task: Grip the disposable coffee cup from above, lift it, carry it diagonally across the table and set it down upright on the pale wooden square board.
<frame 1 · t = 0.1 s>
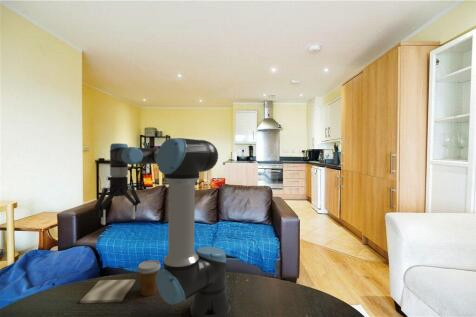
hand: (118, 221, 115), 28 cm above the table, tool pointing down, fingers open, 13 cm apart
wooden board: (109, 291, 105), on the table
disposable coffee cup: (149, 292, 105), on the table
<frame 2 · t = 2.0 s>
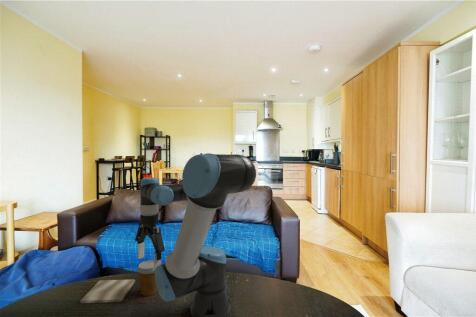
hand: (148, 262, 105), 13 cm above the table, tool pointing down, fingers open, 13 cm apart
nothing on the table moved.
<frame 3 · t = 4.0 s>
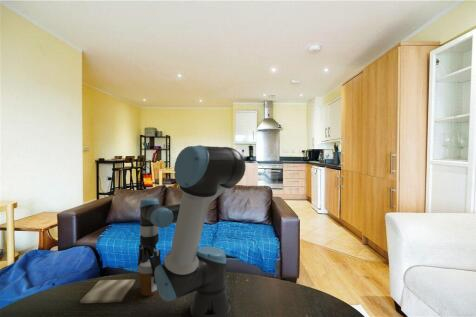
hand: (149, 286, 105), 2 cm above the table, tool pointing down, fingers closed on disposable coffee cup, 8 cm apart
disposable coffee cup: (149, 292, 105), on the table, touching gripper
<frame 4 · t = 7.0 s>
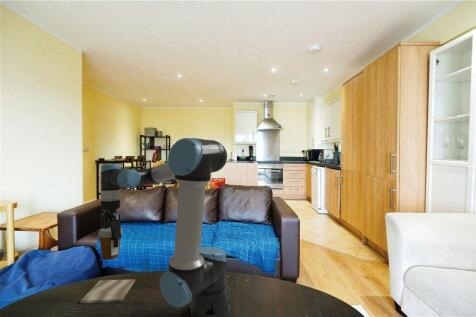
hand: (110, 251, 105), 17 cm above the table, tool pointing down, fingers closed on disposable coffee cup, 8 cm apart
disposable coffee cup: (110, 257, 105), point 15 cm above the table, touching gripper
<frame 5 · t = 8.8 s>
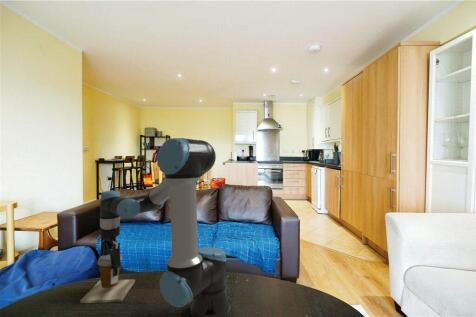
hand: (109, 279, 105), 5 cm above the table, tool pointing down, fingers closed on disposable coffee cup, 8 cm apart
disposable coffee cup: (109, 285, 105), point 3 cm above the table, touching gripper
when the fingers open (4 cm above the table, at t = 10.4 s): disposable coffee cup stays where it is, resting on wooden board.
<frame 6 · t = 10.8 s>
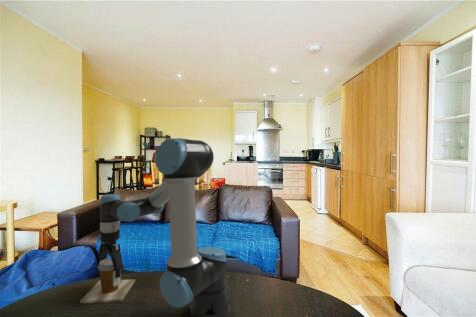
hand: (109, 279, 105), 5 cm above the table, tool pointing down, fingers open, 13 cm apart
disposable coffee cup: (110, 289, 105), point 1 cm above the table, touching wooden board
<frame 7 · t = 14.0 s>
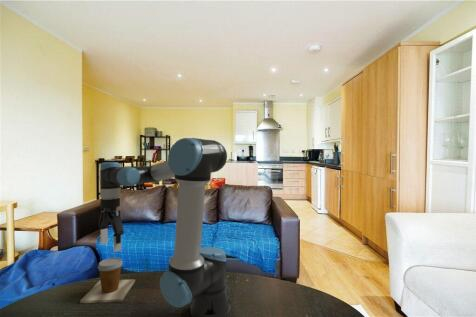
hand: (110, 247, 105), 19 cm above the table, tool pointing down, fingers open, 13 cm apart
nothing on the table moved.
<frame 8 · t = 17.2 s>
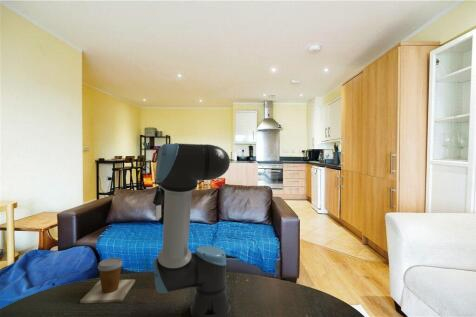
hand: (165, 220, 122), 27 cm above the table, tool pointing down, fingers open, 13 cm apart
nothing on the table moved.
at the end: disposable coffee cup inside the target area on the wooden board (0.2 cm from its centre), point 0.8 cm above the wooden board's base; disposable coffee cup tilted 0°; the gripper is holding nothing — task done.
